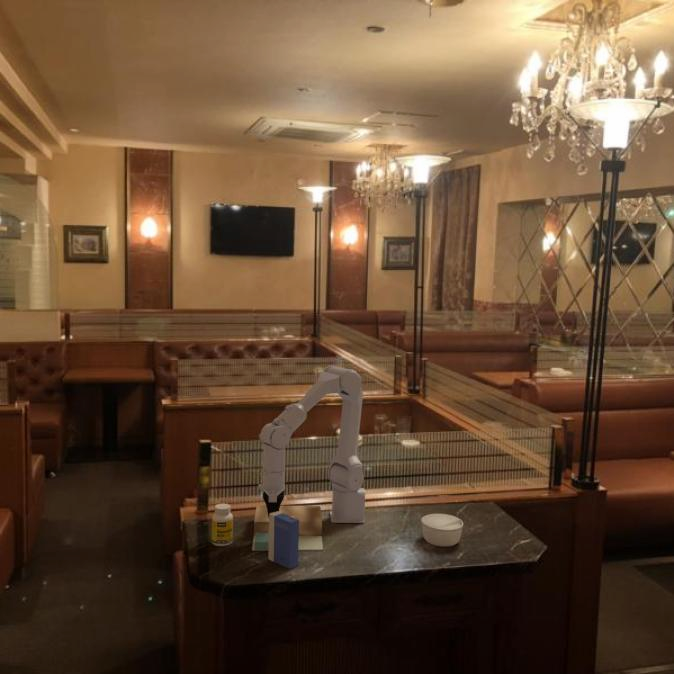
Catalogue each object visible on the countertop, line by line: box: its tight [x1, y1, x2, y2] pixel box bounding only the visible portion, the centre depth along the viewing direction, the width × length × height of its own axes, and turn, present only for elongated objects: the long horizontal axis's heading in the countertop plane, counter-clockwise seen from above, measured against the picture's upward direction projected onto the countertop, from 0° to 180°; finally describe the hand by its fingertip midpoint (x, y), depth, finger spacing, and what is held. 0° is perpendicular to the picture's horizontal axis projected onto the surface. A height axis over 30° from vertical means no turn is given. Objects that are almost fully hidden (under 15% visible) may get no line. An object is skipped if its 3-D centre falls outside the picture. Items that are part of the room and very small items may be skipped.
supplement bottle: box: [211, 503, 234, 547], centre depth 178 cm, size 5×5×10 cm
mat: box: [251, 535, 324, 552], centre depth 179 cm, size 18×8×1 cm, turn 93°
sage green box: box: [255, 533, 269, 550], centre depth 177 cm, size 9×6×2 cm, turn 94°
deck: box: [253, 505, 323, 537], centre depth 189 cm, size 18×12×4 cm, turn 93°
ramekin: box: [420, 513, 464, 548], centre depth 184 cm, size 11×11×5 cm
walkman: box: [267, 511, 299, 570], centre depth 167 cm, size 8×3×12 cm, turn 47°
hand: (273, 519), depth 182 cm, fingers closed
